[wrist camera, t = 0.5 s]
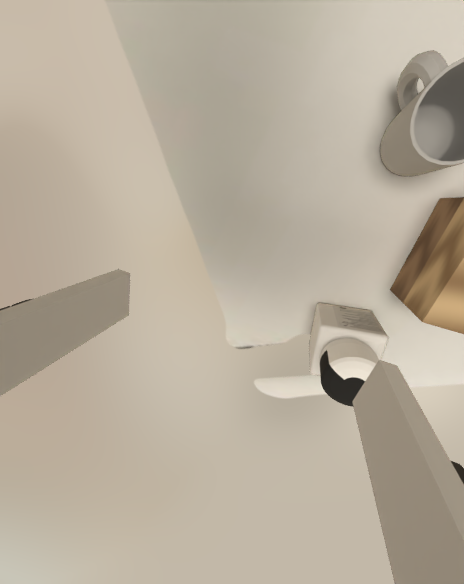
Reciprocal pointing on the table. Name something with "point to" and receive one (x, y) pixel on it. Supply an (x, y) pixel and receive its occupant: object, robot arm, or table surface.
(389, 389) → the robot arm
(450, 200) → the slab lower
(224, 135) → the table surface
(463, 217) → the slab upper
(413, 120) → the cup
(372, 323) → the container
